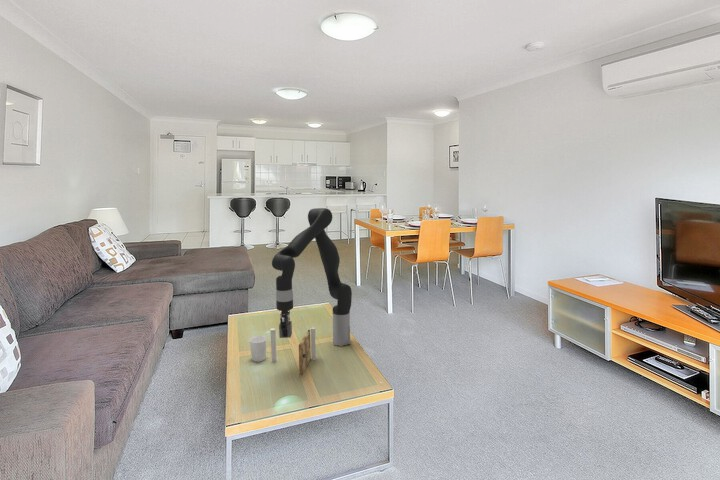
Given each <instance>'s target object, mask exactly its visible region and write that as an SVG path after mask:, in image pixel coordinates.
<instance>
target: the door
mask: <svg viewBox="0 0 720 480" xmlns="http://www.w3.org/2000/svg"><path fill="white" fill-rule="evenodd" d="M310 361H311V329H307V332H306V334H305V335H304V336H303V338H302V339H301V341H300V342H299V343H298V367H299V368H298V373H299V375H303V374H304V372H305V370H306V368H307V367H308V365H309V363H310Z"/></svg>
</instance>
